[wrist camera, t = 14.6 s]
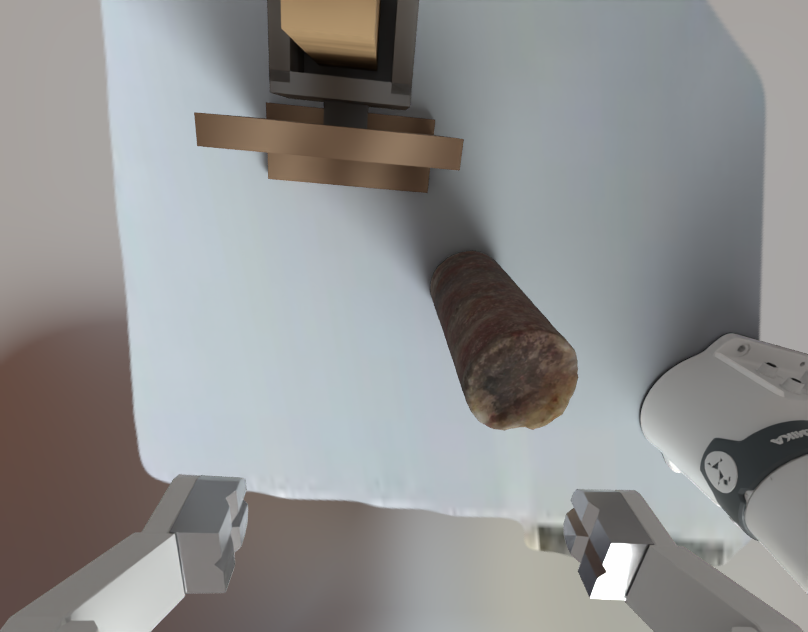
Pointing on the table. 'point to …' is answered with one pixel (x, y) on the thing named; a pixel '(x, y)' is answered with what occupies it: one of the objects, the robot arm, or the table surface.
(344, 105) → the bracket
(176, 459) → the table surface
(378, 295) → the table surface
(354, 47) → the wooden block
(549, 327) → the brown rough cylinder
